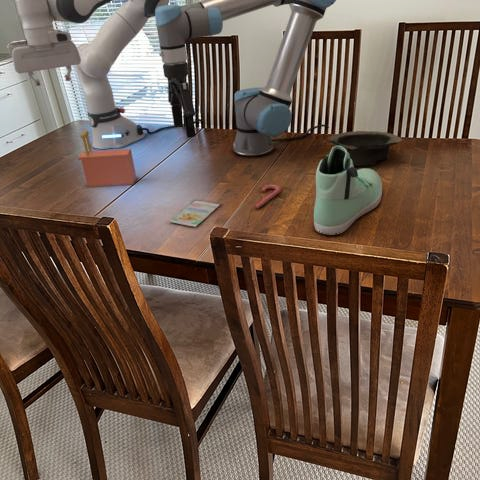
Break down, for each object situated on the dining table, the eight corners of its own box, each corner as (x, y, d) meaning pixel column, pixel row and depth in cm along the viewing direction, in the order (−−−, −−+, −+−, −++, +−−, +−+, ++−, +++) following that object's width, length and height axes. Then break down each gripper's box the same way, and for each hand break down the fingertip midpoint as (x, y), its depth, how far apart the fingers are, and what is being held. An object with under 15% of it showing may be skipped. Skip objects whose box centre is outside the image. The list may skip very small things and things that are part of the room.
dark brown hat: (359, 176, 156) (359, 149, 151) (314, 159, 176) (313, 134, 172) (416, 158, 164) (418, 131, 160) (367, 143, 185) (368, 119, 180)
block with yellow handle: (78, 160, 160) (72, 135, 156) (83, 154, 165) (77, 130, 160) (127, 157, 159) (122, 132, 155) (131, 151, 164) (126, 127, 160)
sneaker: (389, 187, 148) (396, 123, 138) (356, 242, 123) (361, 168, 112) (346, 181, 154) (350, 119, 144) (306, 232, 129) (307, 161, 118)
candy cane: (241, 205, 145) (241, 201, 144) (268, 186, 155) (268, 182, 154) (258, 210, 142) (258, 205, 141) (284, 190, 152) (284, 185, 151)
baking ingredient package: (169, 220, 138) (195, 199, 150) (169, 222, 139) (195, 200, 150) (195, 225, 135) (220, 203, 146) (195, 227, 135) (220, 205, 147)
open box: (87, 186, 165) (80, 160, 160) (92, 180, 170) (85, 154, 165) (133, 184, 165) (127, 157, 159) (136, 177, 169) (131, 151, 164)
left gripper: (5, 43, 143) (20, 90, 150) (75, 34, 149) (86, 79, 156) (5, 40, 148) (19, 86, 155) (72, 31, 154) (83, 76, 161)
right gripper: (152, 58, 153) (162, 123, 164) (175, 71, 133) (185, 144, 144) (174, 54, 155) (183, 118, 166) (200, 67, 135) (209, 139, 146)
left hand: (53, 83), depth 156 cm, fingers open, 8 cm apart
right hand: (184, 131), depth 155 cm, fingers open, 13 cm apart
